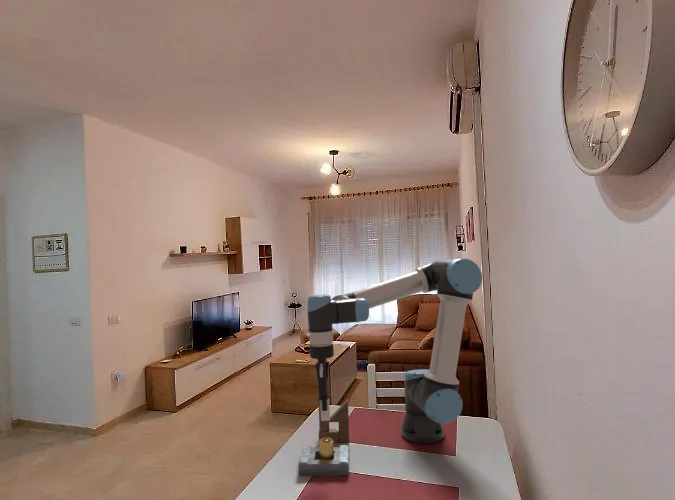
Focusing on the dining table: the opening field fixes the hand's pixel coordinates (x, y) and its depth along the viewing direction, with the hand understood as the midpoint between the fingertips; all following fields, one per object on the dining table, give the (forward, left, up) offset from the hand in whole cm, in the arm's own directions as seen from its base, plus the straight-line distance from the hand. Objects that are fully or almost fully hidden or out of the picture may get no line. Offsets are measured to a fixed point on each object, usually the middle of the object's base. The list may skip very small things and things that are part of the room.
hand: (325, 419), depth 127 cm
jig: (+1, 0, -14) cm, 14 cm away
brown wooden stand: (-1, -18, -15) cm, 23 cm away
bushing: (0, 0, -14) cm, 14 cm away
